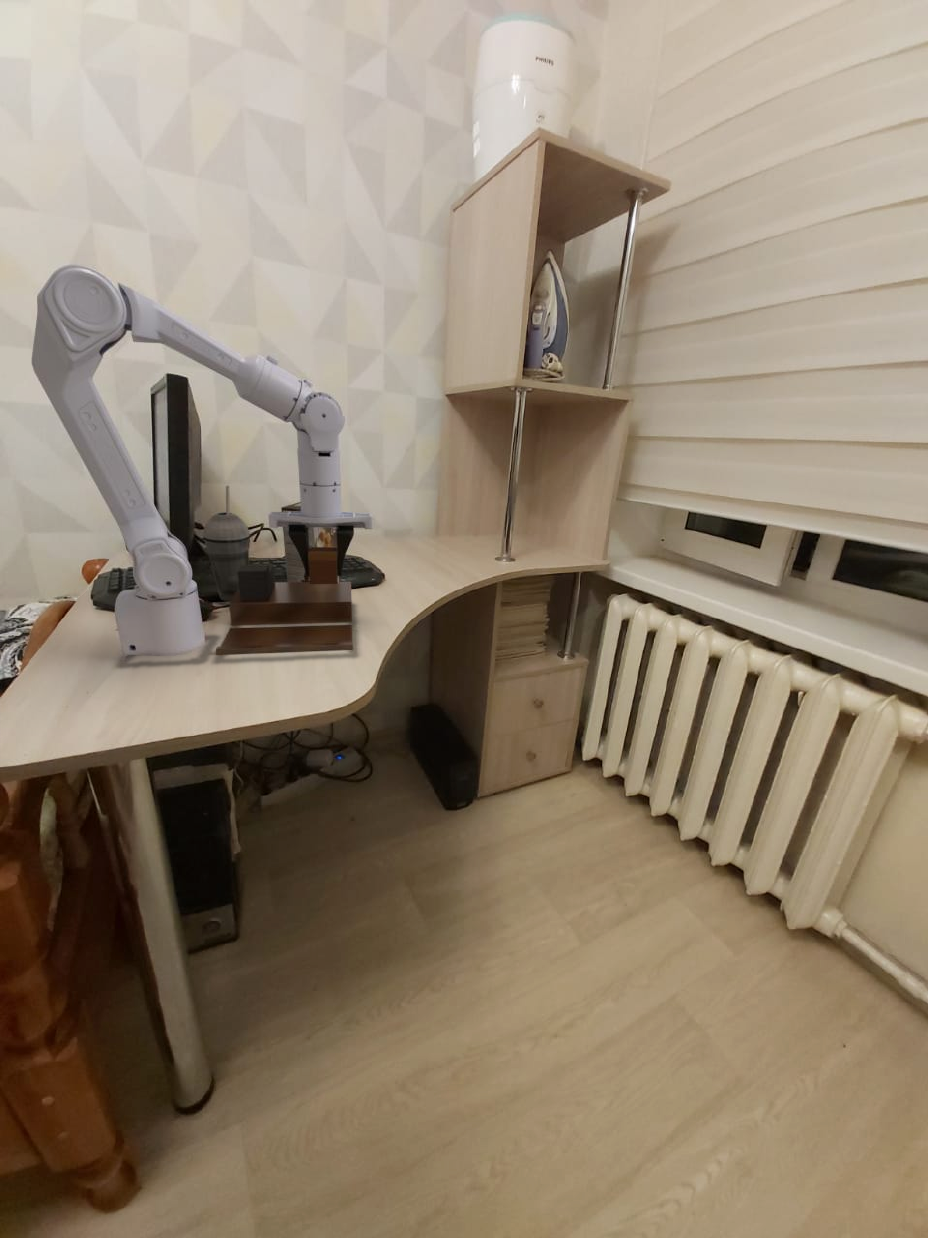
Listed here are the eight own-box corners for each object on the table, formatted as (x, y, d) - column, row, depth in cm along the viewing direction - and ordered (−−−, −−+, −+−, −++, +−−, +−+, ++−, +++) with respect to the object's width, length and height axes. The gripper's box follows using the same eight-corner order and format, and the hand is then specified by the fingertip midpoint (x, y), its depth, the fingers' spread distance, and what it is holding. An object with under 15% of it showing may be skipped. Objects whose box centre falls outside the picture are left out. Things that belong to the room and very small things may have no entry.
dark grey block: (268, 600, 77) (265, 571, 75) (240, 601, 76) (237, 571, 74) (275, 584, 84) (272, 556, 82) (249, 584, 83) (246, 556, 81)
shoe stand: (217, 661, 67) (212, 631, 66) (244, 607, 85) (241, 582, 83) (353, 655, 71) (352, 627, 69) (351, 605, 89) (351, 581, 87)
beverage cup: (229, 592, 91) (215, 480, 84) (265, 597, 90) (254, 484, 82) (202, 605, 85) (184, 485, 77) (241, 611, 83) (226, 489, 76)
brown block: (337, 584, 75) (336, 553, 73) (309, 584, 74) (307, 552, 72) (338, 568, 82) (337, 539, 80) (313, 568, 81) (311, 539, 79)
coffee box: (310, 578, 101) (306, 498, 95) (340, 582, 100) (337, 502, 94) (286, 592, 93) (280, 506, 87) (318, 597, 92) (314, 510, 86)
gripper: (370, 481, 76) (371, 566, 82) (270, 477, 73) (278, 566, 78) (372, 488, 70) (373, 579, 75) (263, 484, 67) (271, 580, 72)
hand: (324, 574), depth 76 cm, fingers closed on brown block, 4 cm apart
